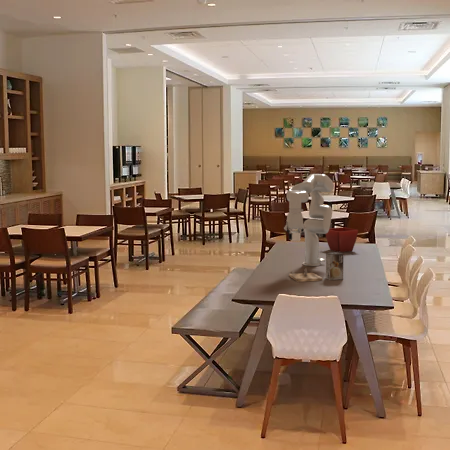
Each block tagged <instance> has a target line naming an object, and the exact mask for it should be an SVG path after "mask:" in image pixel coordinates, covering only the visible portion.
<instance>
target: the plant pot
mask: <svg viewBox="0 0 450 450" xmlns="http://www.w3.org/2000/svg"><path fill="white" fill-rule="evenodd" d="M358 233H359V229H355V228H349V227H344V226H342V227H341V226H340V227H330V228H329V231H328V233H326V234H325V239H326V242H327V245H328V248H329V250H330V251H332V250H333V251H332V252H335V253H336V252H339V253H344V252H345V253H346V252H352V251H353V250H354V248H355V245H356V241H357V238H358Z"/></svg>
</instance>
